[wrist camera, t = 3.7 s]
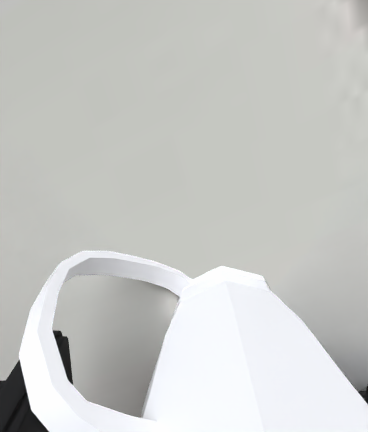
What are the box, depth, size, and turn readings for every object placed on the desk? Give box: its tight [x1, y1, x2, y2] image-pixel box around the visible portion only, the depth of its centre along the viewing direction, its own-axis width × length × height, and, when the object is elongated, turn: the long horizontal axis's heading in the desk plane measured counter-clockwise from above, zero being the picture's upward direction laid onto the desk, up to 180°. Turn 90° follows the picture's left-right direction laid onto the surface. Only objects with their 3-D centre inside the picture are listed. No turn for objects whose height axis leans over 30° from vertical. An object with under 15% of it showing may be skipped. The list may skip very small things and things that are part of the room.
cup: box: [19, 251, 368, 432], centre depth 9 cm, size 7×10×8 cm
